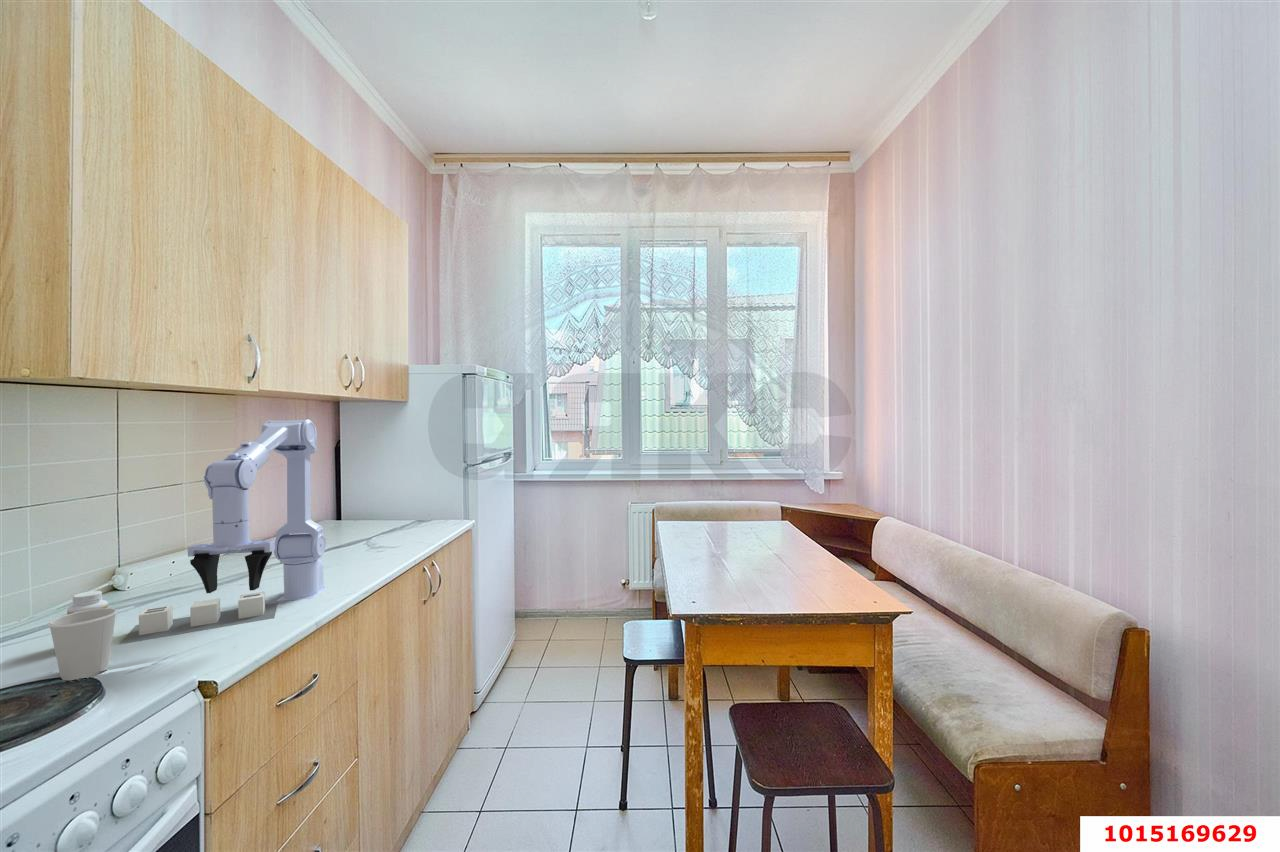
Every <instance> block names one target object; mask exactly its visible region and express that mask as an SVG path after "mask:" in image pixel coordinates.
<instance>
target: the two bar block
mask: <svg viewBox="0 0 1280 852" xmlns="http://www.w3.org/2000/svg"><path fill="white" fill-rule="evenodd" d="M173 619H174V614H173V605H172V604H171V605H166V606H158V607H152V608H146V609H145V608H144V609H143V610H142V612H140V614H139V615H138V625H139V635H144V634H150V633H156V632H162V631H168V630H169V628H170V627H171V626H172V624H173Z"/></svg>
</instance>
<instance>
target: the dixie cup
mask: <svg viewBox="0 0 1280 852" xmlns="http://www.w3.org/2000/svg"><path fill="white" fill-rule="evenodd" d="M116 614H118V610H117V609H116V608H112V607H108V608H100V609H92V610H85V611H80V612H75V613H71V614H67V613H66V614H65V615H61V616H57V617H55V618H53V619H52V620H50V621H49V622H48V623H47V627H49V630H50V633H51V638H52V642H53V643H52V644H53V647H54V651H55V652H54V653H55V656H56V658H55V659H56V662H57V667H58V671H59V676H60V680H61V679H62V680H74V679H79V678H87V679H90V678H93V677H96V676H99V675H102V674H103V673H105V672H107V671H108V669H106V668H108V666H109V665H110V658H111V651H112V650H111V649H112V644H113V643H112V642H113V637H114V636H113V635H114V627H115V621H116ZM89 677H90V678H89ZM62 680H61V681H62Z"/></svg>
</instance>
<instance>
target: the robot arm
mask: <svg viewBox="0 0 1280 852" xmlns="http://www.w3.org/2000/svg"><path fill="white" fill-rule="evenodd" d="M260 432H261V433H260V434H259V436H258V437H257V438H256V439H255V440H254V441H243V442H242V443H240V446H239V447H237V448H236V449H235V450H234V451H232V452H231V453H229V455H227V457H225V458H223V460H215V461H213V462H212V463H210V464H209V465H207V467H206V469H205V471H204V472H205V473H204V476H203V482H204V485H205V487H206V489H207V492H208V493H207V494H208V495H207V497H208V498H209V499H210V500H211V501H212V505H211V506H212V507H211V508H212V534H213V536H212V537H213V538H212V539H213V542H211V543H210V542H208V543H202V544H201V543H198V544H196V543H195V544H191V545H189V546H187V557H188V558H189V557H193V558H192V559H190V560H189V564H190V566H192V567H193V568H194V570H195V571H196V572H197V574H198V576H199V577H200V579H201V582H202V584H203V586H204V589H205V592H206V594H211V593H213V592H215V591H217V590H218V589H217V588H218V569H219V561H220V557H221V555H229V554H246V553H247V554H248V553H249V554H248V555H245V556H244V560H245V563H246V568H247V571H248V587H249V588H248V589H249V591H250V592H251V591H256V590H257V589H258V588H260V585H261V580H262V577H263V573H264V571H265V568H266V566H267V564H268V562H269V559H270V558H271V556H272V554H274V557H275V558H276V560H278V561H279V564H283V569H282V570H283V596H281V597H279V598H277V599H276V602H278V601H293V600H296V601H297V600H309V599H310V600H311V599H313V598H315V597H316V596H318V595H319V594H320V593H322V592H323V591H325V589H327V588H328V586H324V564H323V562H322V560H321V557H322V556H323V555H324V553H325V551H326V545H327V544H326V543H327V542H326V537H325V533H324V532H325V531H324V527H323V525H320V524H319V523H317V522H316V521H314V520H312V519H311V518H312V516H311V515H312V513H311V512H312V509H311V507H312V504H311V503H312V502H311V500H312V499H311V496H312V495H311V494H312V492H311V481H312V480H311V479H312V478H311V477H312V476H311V461H312V458H311V457H312V456H311V455H312V454H314V453H316V452H317V447H318V439H317V438H318V436H317V435H318V432H317V428H316V425H315V424H314V423H313V421H312V420H311V419H302V420H299V419H298V420H295V419H294V420H292V419H291V420H273V419H269V420H267V421H265V422H264V423H262V426H261V431H260ZM273 451H274V452H275V453H277V454H280V455H283V456H284V457H285V459H286V492H287V493H286V512H287V513H286V514H287V515H286V523H285V524H284V525H283V526H281V527H280V528H279V529H278V530H277V531H276V532H275V533H276V534H275V540H252V539H251V537H250V536H251V534H250V533H251V532H250V531H251V530H250V528H251V527H250V524H251V522H250V495H249V494H250V492H249V491H250V490H249V489H250V488H251V487H253V485H254V483H255V480H256V477H257V475H258V473H259V472H258V471H259V470H260V469H261V468H262V467H263V466H265V464H267V462H268V461H269V458H270V454H269V453H271V452H273Z"/></svg>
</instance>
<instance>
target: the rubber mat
mask: <svg viewBox="0 0 1280 852" xmlns="http://www.w3.org/2000/svg"><path fill="white" fill-rule="evenodd" d="M278 604H279V603H278V602H273V603H267V604H266V603H265V611H264V614H263V615H259V616H253V617H247V618H241V619H239V613H238V608H235V609H229V610H223V611H220V613H221V616H220V618H219V620H218V622H217V623H211V624H205V625H199V626H193V627H191V617H190V616H183V617H179V618H173V624H172V626H171V627H170V628H169V630H168V631H162V632H156V633H150V634H144V635H139V624H136V625H135V626H134V627H133V628H132V629H131V630H130V631H129V632H128V634H126V636H124V637H123V639H122V640H121V641H120V642H119V643H118V644H117V645H123V644H129V643H136V642H141V641H148V640H153V639H159V638H165V637H171V636H176V635H182V634H183V635H184V634H189V633H195V632H200V631H206V630H212V629H213V630H214V629H218V628H223V627H230V626H236V625H241V624H248V623H254V622H260V621H264V620H272V619H275V616H276V612H277V609H278Z"/></svg>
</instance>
